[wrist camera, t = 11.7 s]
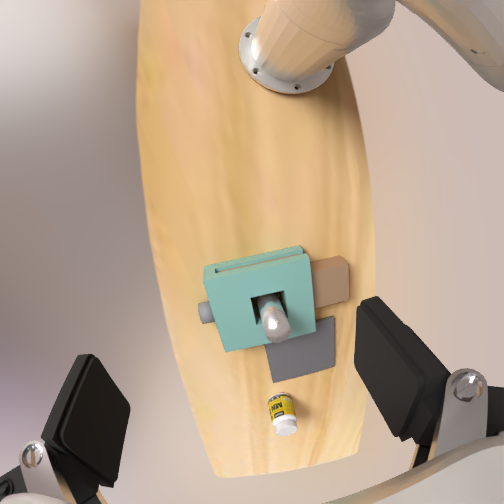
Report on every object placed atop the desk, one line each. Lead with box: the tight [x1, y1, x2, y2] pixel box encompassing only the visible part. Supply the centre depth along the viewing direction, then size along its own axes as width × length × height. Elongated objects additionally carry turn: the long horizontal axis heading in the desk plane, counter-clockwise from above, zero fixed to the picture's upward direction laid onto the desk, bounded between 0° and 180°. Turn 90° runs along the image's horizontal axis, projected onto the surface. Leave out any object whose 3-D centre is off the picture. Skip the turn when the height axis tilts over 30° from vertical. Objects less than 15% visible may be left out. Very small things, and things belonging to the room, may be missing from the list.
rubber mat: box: [265, 316, 335, 383], centre depth 45 cm, size 12×12×1 cm
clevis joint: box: [198, 246, 349, 352], centre depth 38 cm, size 22×12×4 cm, turn 101°
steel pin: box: [256, 292, 291, 343], centre depth 36 cm, size 3×3×10 cm
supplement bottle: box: [268, 393, 298, 436], centre depth 46 cm, size 5×5×8 cm
